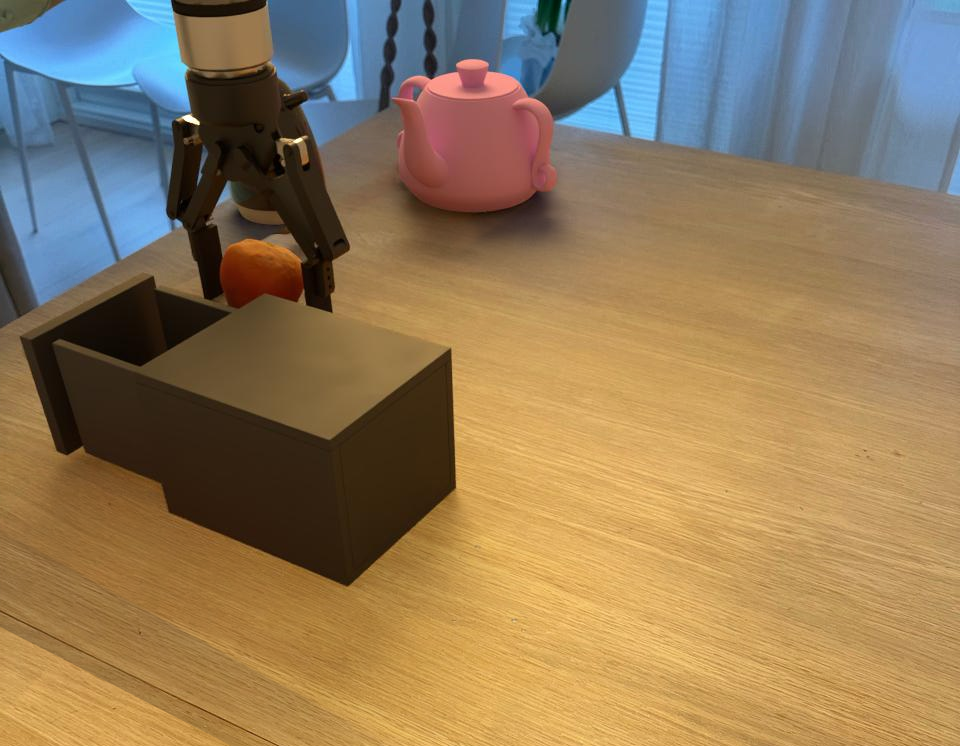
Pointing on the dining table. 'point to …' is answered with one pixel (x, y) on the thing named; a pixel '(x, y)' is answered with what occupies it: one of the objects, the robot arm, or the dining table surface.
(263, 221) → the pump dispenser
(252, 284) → the fruit
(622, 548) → the dining table surface
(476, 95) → the teapot
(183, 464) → the cabinet
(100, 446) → the drawer
